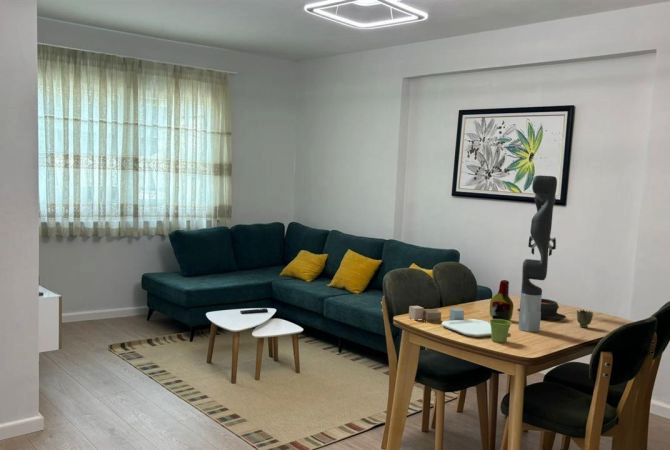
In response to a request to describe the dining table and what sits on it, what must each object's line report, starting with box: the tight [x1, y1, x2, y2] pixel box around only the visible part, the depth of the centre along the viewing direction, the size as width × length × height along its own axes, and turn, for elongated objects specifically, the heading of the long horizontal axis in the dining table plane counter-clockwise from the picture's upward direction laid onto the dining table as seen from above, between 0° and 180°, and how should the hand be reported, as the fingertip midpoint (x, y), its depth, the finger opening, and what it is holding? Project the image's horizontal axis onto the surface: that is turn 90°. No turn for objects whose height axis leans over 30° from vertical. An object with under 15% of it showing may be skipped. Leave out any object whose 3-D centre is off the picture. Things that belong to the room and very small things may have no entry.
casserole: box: [516, 298, 567, 320], centre depth 316 cm, size 25×19×8 cm
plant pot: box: [488, 318, 512, 344], centre depth 262 cm, size 9×9×9 cm
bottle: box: [489, 279, 514, 321], centre depth 304 cm, size 12×6×20 cm, turn 46°
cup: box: [576, 309, 594, 329], centre depth 297 cm, size 8×7×8 cm
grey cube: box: [449, 308, 465, 321], centre depth 295 cm, size 5×5×6 cm
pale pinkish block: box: [408, 305, 425, 321], centre depth 295 cm, size 5×5×6 cm
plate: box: [441, 318, 492, 338], centre depth 280 cm, size 25×25×2 cm
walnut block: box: [423, 308, 442, 323], centre depth 294 cm, size 7×7×5 cm
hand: (541, 254), depth 335 cm, fingers open, 8 cm apart
